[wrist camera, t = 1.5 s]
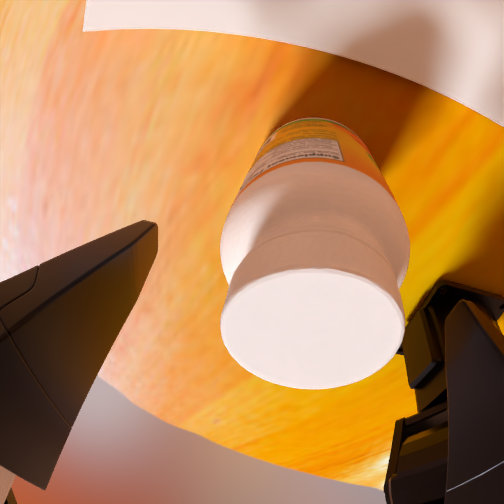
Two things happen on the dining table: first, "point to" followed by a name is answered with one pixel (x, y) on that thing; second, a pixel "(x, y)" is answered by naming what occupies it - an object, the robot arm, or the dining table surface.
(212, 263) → the dining table surface
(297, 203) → the supplement bottle
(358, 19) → the white flat board
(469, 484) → the robot arm
